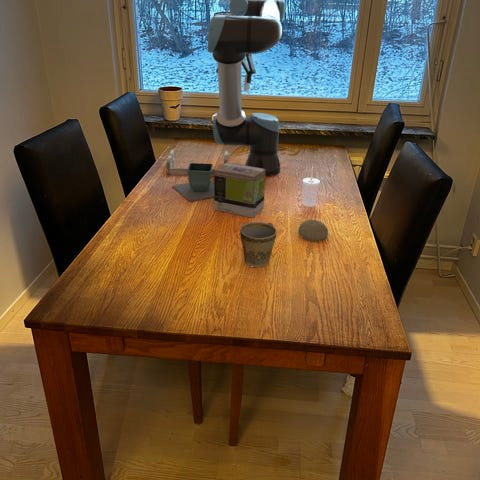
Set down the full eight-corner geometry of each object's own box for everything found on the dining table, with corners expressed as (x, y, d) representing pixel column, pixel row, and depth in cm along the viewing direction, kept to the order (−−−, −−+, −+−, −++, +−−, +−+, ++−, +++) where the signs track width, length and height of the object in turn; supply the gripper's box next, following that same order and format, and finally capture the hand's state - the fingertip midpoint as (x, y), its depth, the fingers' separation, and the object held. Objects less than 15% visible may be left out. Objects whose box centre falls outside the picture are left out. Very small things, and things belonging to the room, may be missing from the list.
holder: (172, 161, 204) (171, 148, 201) (227, 163, 204) (228, 150, 202) (167, 174, 190) (166, 160, 187) (226, 176, 190) (226, 162, 187)
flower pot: (211, 194, 171) (211, 171, 167) (187, 193, 171) (187, 170, 167) (212, 185, 179) (213, 163, 175) (190, 185, 179) (189, 162, 175)
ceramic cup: (263, 275, 124) (265, 242, 119) (231, 264, 128) (232, 231, 124) (285, 255, 133) (288, 224, 129) (255, 245, 138) (257, 215, 133)
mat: (228, 194, 173) (228, 193, 172) (189, 202, 165) (189, 200, 165) (209, 180, 185) (209, 179, 185) (172, 187, 178) (172, 185, 177)
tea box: (264, 208, 163) (266, 168, 156) (253, 219, 155) (255, 177, 148) (226, 200, 168) (226, 160, 161) (213, 210, 160) (213, 169, 153)
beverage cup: (320, 204, 167) (325, 167, 161) (310, 208, 163) (314, 171, 157) (306, 199, 171) (310, 162, 165) (296, 203, 167) (300, 166, 161)
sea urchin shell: (311, 241, 138) (302, 216, 140) (299, 249, 145) (291, 225, 147) (335, 235, 142) (327, 211, 143) (323, 243, 149) (314, 220, 150)
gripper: (267, 39, 194) (261, 92, 199) (221, 41, 209) (217, 91, 214) (256, 35, 189) (251, 90, 193) (210, 38, 203) (206, 88, 208)
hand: (233, 90), depth 203 cm, fingers open, 13 cm apart
